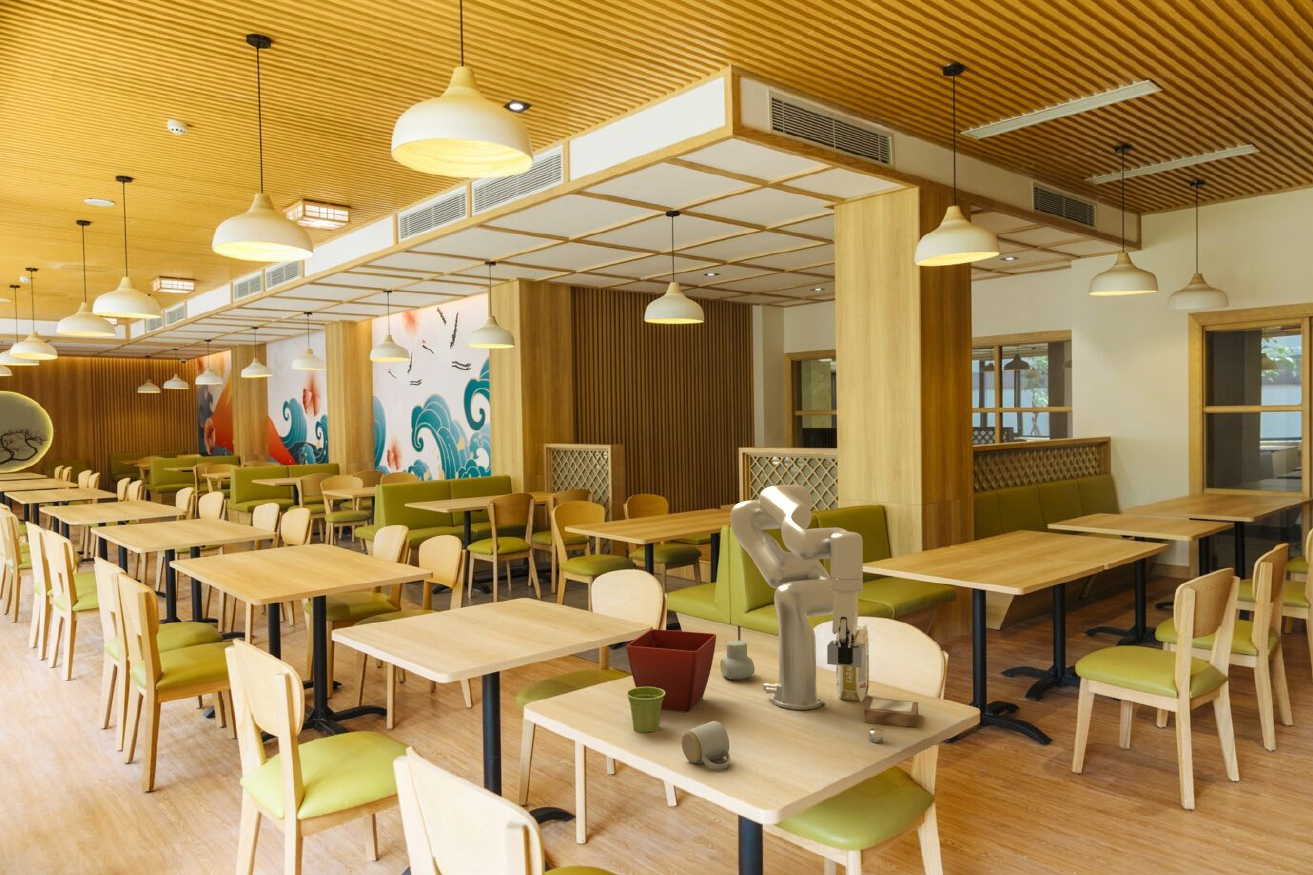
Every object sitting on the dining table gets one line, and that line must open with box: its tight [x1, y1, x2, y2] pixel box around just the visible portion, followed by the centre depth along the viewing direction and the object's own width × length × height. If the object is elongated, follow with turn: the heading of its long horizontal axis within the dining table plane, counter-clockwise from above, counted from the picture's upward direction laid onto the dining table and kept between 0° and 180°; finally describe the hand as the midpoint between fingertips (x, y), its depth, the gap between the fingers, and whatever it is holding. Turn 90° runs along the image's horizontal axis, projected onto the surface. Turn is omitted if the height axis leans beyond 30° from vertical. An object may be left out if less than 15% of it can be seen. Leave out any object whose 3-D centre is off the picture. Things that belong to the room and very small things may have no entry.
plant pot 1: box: [626, 687, 665, 733], centre depth 203 cm, size 9×9×9 cm
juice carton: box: [835, 623, 870, 703], centre depth 225 cm, size 8×9×19 cm
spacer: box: [869, 727, 884, 745], centre depth 193 cm, size 3×3×2 cm
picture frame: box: [863, 697, 919, 728], centre depth 208 cm, size 12×10×3 cm
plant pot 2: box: [626, 628, 717, 713], centre depth 222 cm, size 19×19×17 cm
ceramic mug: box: [681, 720, 731, 771], centre depth 182 cm, size 11×8×8 cm
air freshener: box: [719, 640, 755, 680], centre depth 245 cm, size 11×8×10 cm
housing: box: [826, 639, 865, 668], centre depth 201 cm, size 8×5×5 cm, turn 66°
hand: (846, 659), depth 201 cm, fingers closed on housing, 5 cm apart
